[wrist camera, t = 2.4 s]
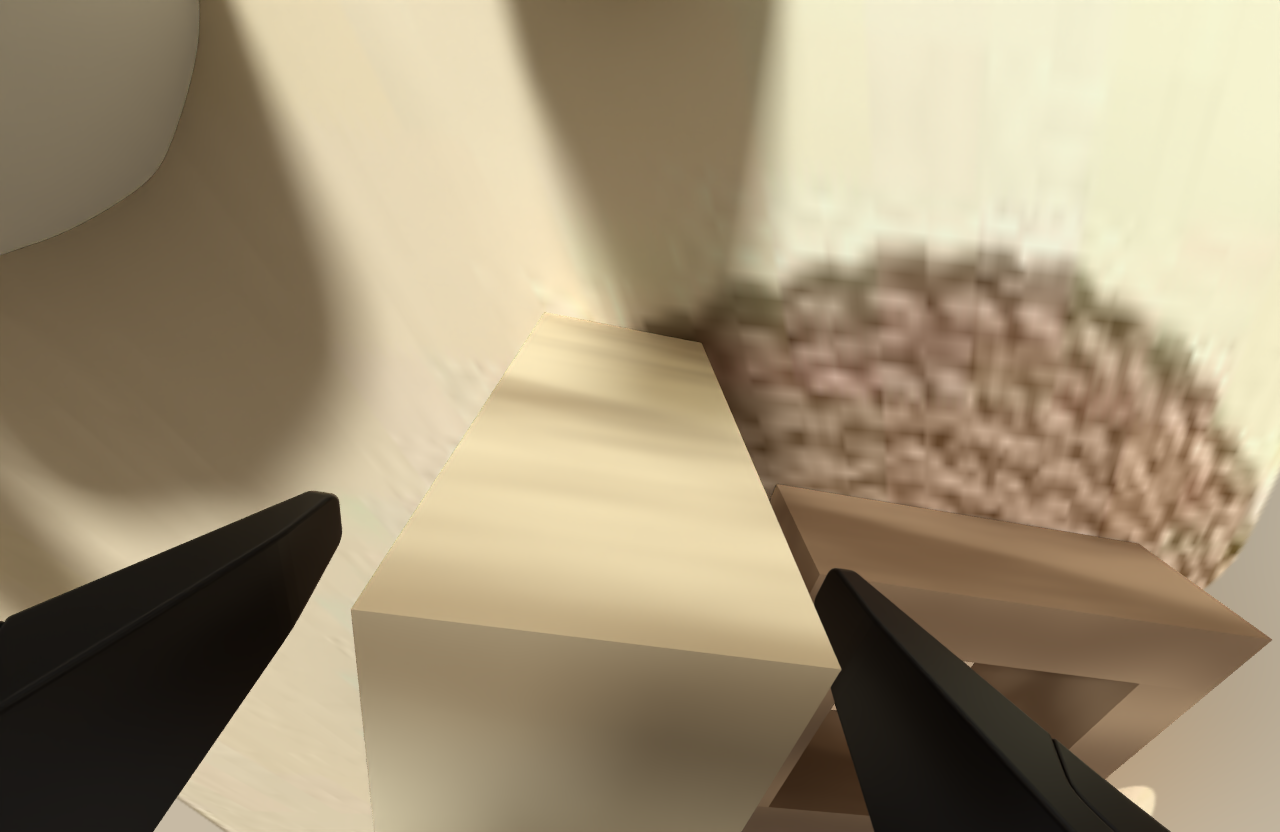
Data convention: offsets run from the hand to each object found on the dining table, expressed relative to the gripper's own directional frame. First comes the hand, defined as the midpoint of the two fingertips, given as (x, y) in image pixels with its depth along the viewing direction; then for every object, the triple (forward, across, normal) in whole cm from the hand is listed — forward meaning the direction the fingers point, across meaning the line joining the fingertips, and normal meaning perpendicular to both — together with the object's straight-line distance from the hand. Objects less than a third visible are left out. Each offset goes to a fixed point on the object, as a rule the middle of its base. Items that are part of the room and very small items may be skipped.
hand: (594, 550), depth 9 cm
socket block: (+6, -13, +9) cm, 17 cm away
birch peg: (+6, 0, 0) cm, 6 cm away
